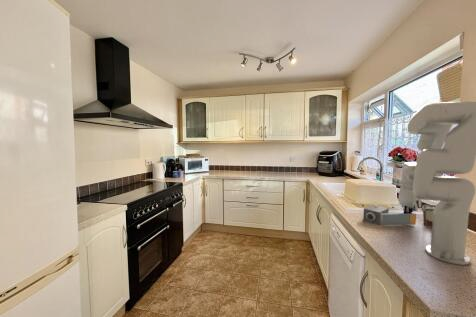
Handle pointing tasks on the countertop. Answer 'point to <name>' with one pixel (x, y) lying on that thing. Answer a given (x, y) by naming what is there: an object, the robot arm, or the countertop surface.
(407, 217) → the side door
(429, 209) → the food container
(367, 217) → the camera housing
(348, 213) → the countertop surface
